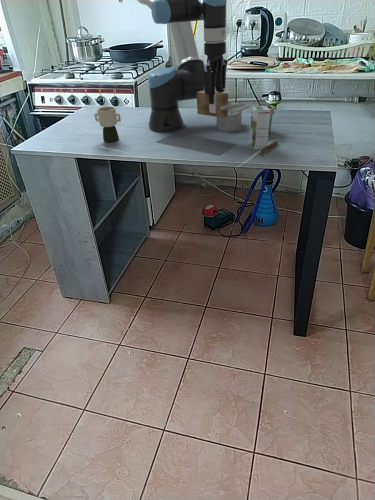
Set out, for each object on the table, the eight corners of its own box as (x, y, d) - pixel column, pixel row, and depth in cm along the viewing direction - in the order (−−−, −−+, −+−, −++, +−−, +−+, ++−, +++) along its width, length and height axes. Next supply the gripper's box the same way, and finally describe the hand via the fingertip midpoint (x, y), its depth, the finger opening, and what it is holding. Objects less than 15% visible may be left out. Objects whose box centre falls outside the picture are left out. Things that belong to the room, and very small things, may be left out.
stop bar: (260, 154, 137) (260, 150, 136) (274, 144, 145) (274, 140, 144) (263, 155, 137) (263, 151, 136) (277, 144, 144) (277, 140, 144)
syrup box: (248, 145, 145) (250, 106, 137) (264, 144, 146) (266, 105, 137) (252, 151, 141) (254, 110, 132) (268, 149, 141) (271, 109, 132)
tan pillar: (193, 115, 148) (192, 93, 143) (205, 110, 153) (204, 89, 148) (239, 122, 138) (239, 99, 133) (249, 116, 143) (250, 94, 138)
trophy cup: (127, 138, 159) (122, 106, 151) (120, 144, 153) (115, 111, 146) (102, 137, 161) (96, 105, 154) (95, 143, 156) (89, 110, 148)
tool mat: (155, 143, 152) (155, 142, 152) (174, 133, 161) (174, 132, 161) (219, 156, 138) (219, 155, 137) (237, 145, 146) (237, 144, 146)
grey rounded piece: (242, 123, 168) (242, 102, 163) (239, 132, 158) (240, 111, 153) (218, 122, 170) (218, 102, 165) (214, 132, 160) (214, 111, 155)
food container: (272, 138, 150) (274, 112, 145) (256, 138, 152) (258, 112, 146) (273, 128, 160) (275, 103, 154) (258, 128, 161) (259, 103, 156)
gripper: (211, 45, 125) (212, 118, 139) (236, 38, 136) (234, 107, 149) (192, 44, 129) (195, 115, 142) (218, 38, 139) (218, 105, 153)
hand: (215, 111), depth 146 cm, fingers closed on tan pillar, 3 cm apart
